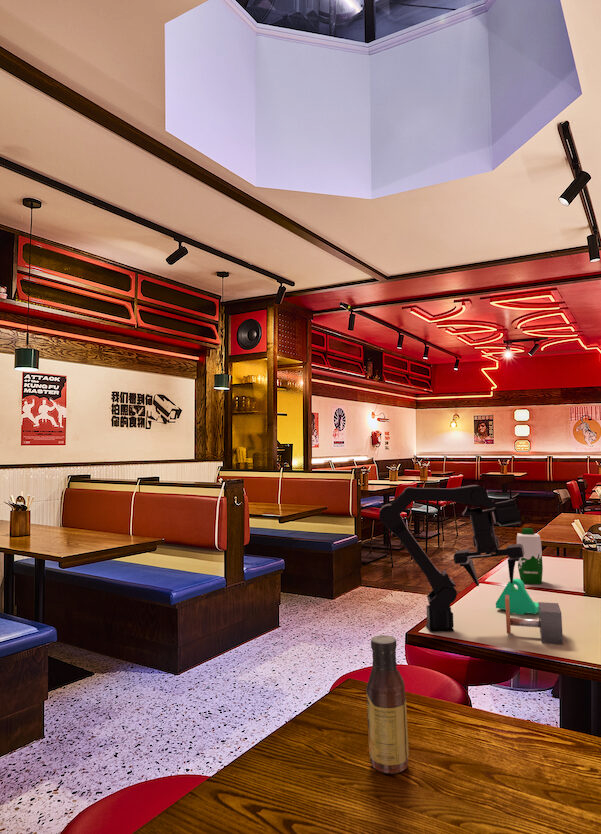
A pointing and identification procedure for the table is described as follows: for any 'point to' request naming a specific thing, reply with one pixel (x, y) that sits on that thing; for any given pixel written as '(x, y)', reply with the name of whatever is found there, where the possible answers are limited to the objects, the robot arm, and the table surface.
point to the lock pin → (518, 619)
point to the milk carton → (530, 557)
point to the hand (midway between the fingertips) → (494, 584)
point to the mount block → (550, 623)
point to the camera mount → (517, 599)
